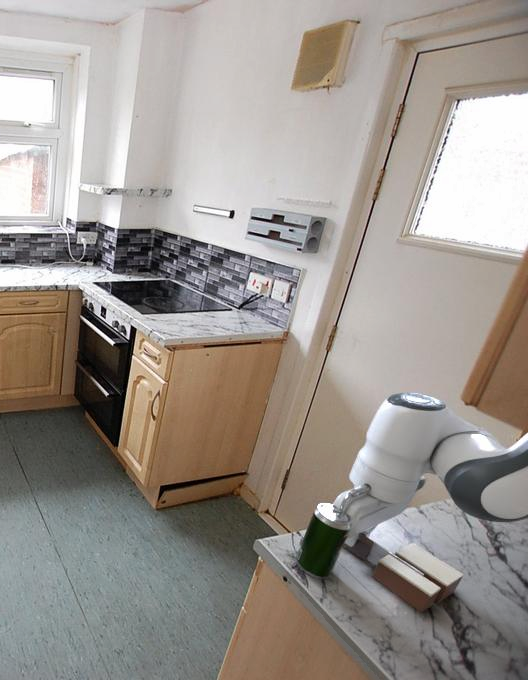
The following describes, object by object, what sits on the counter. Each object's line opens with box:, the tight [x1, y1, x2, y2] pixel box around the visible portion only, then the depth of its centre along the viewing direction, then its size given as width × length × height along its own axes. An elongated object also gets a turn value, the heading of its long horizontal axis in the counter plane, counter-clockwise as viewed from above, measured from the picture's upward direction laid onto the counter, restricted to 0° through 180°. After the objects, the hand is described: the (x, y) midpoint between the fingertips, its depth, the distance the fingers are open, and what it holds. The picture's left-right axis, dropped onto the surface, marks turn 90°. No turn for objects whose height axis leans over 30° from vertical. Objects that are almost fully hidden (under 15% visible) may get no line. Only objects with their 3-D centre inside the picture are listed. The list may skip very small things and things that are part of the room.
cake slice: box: [371, 554, 441, 613], centre depth 77 cm, size 8×3×4 cm, turn 27°
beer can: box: [296, 502, 352, 580], centre depth 79 cm, size 5×5×12 cm
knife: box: [343, 533, 424, 576], centre depth 82 cm, size 13×2×4 cm, turn 27°
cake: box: [394, 542, 464, 604], centre depth 79 cm, size 8×6×4 cm
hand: (354, 540), depth 85 cm, fingers closed on knife, 2 cm apart
